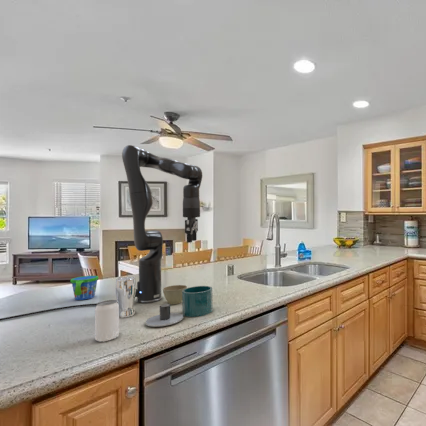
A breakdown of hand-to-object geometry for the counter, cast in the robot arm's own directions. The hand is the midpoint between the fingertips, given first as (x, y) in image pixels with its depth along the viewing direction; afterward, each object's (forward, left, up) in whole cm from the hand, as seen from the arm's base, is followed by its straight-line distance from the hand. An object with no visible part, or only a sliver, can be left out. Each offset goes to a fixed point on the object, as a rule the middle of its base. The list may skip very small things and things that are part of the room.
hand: (191, 241), depth 138 cm
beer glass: (-22, -15, -28) cm, 39 cm away
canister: (+6, -17, -28) cm, 33 cm away
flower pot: (-7, -2, -28) cm, 29 cm away
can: (-18, -38, -28) cm, 51 cm away
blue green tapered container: (-53, +15, -28) cm, 62 cm away
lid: (-4, -26, -28) cm, 38 cm away
